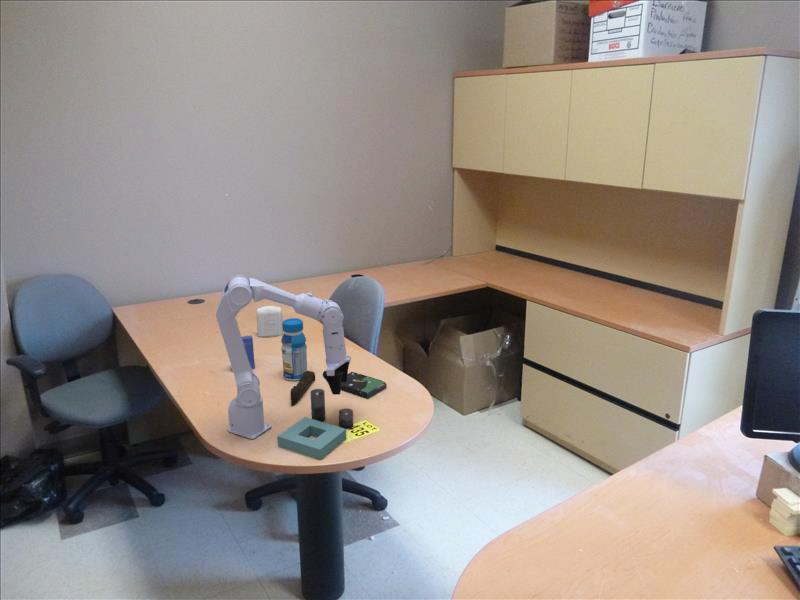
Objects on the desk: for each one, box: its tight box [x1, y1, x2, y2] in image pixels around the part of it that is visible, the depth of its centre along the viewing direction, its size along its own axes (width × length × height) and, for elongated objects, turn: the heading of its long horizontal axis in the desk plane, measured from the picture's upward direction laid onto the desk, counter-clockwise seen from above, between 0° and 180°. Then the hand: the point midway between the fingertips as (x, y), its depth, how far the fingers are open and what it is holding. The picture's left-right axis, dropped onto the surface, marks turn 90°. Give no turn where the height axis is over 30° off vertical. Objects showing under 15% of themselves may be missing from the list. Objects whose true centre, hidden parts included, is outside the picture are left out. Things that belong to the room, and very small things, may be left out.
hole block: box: [276, 416, 347, 461], centre depth 159 cm, size 14×12×3 cm
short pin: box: [338, 408, 354, 430], centre depth 167 cm, size 4×4×4 cm
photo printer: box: [256, 305, 284, 338], centre depth 237 cm, size 10×4×12 cm, turn 102°
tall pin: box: [310, 388, 327, 423], centre depth 170 cm, size 4×4×9 cm
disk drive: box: [341, 371, 388, 400], centre depth 192 cm, size 10×3×15 cm
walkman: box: [230, 334, 256, 373], centre depth 204 cm, size 8×3×12 cm, turn 114°
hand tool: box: [290, 370, 316, 407], centre depth 188 cm, size 19×4×5 cm, turn 169°
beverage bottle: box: [280, 317, 308, 382], centre depth 197 cm, size 8×8×20 cm
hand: (339, 387), depth 169 cm, fingers open, 7 cm apart
